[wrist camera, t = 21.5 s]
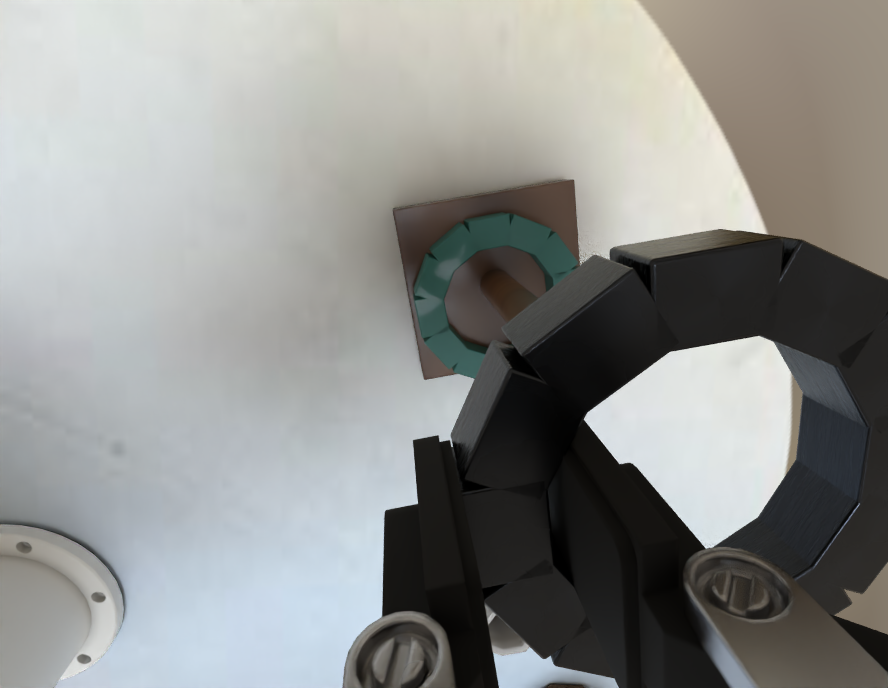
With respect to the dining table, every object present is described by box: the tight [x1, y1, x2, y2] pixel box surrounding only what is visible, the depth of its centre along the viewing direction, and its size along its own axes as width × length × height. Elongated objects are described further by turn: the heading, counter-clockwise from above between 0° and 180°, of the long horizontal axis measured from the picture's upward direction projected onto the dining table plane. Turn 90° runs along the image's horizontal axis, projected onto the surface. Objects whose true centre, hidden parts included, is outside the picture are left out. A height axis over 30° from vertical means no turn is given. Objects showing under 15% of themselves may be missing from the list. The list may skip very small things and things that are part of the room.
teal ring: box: [413, 212, 578, 379], centre depth 28 cm, size 9×9×2 cm
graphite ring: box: [451, 229, 888, 678], centre depth 10 cm, size 9×9×2 cm
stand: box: [393, 180, 580, 380], centre depth 23 cm, size 10×10×14 cm
